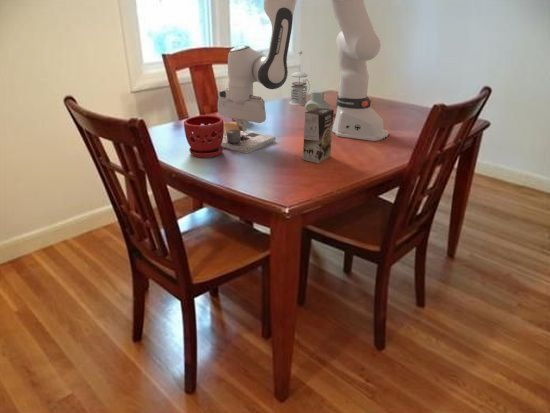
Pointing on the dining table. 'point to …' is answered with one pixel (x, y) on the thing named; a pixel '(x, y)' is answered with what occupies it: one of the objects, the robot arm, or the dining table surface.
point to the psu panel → (249, 142)
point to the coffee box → (318, 134)
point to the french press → (299, 89)
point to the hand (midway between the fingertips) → (242, 130)
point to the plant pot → (204, 135)
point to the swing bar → (232, 132)
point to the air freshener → (316, 101)
